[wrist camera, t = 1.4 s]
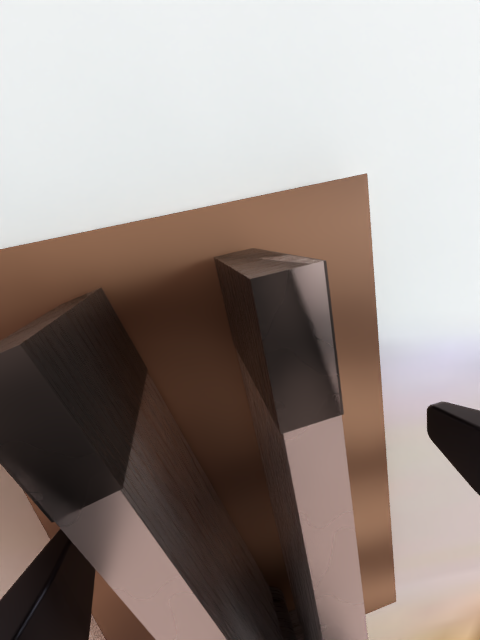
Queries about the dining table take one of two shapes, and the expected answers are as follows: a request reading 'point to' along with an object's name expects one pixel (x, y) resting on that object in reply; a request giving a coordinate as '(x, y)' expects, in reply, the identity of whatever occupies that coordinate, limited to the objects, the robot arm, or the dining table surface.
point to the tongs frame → (299, 430)
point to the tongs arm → (126, 479)
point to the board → (228, 352)
